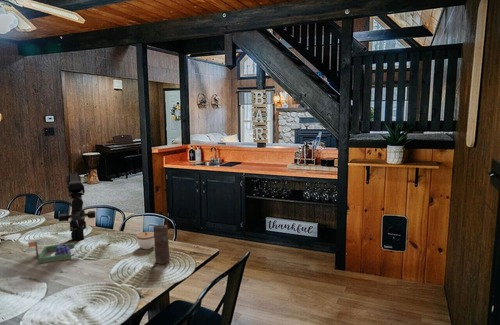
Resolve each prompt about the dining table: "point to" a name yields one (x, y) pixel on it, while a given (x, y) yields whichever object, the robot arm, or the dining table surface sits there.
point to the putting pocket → (50, 248)
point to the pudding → (63, 250)
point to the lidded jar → (145, 240)
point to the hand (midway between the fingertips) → (78, 230)
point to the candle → (161, 244)
